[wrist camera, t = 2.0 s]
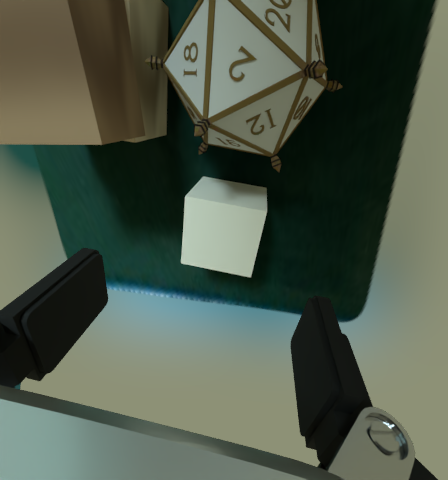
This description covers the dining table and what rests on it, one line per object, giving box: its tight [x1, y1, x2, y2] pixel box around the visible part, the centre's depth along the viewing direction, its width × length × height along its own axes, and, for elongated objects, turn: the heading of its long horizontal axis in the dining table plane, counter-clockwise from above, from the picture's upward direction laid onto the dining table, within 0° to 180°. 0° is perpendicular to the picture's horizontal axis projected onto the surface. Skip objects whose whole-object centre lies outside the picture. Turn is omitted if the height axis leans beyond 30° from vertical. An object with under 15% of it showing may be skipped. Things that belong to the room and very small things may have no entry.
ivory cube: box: [181, 176, 267, 278], centre depth 18 cm, size 5×5×5 cm
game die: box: [144, 0, 343, 172], centre depth 12 cm, size 9×8×10 cm
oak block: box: [123, 0, 168, 143], centre depth 14 cm, size 7×7×5 cm
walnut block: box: [0, 0, 145, 145], centre depth 10 cm, size 7×7×4 cm
